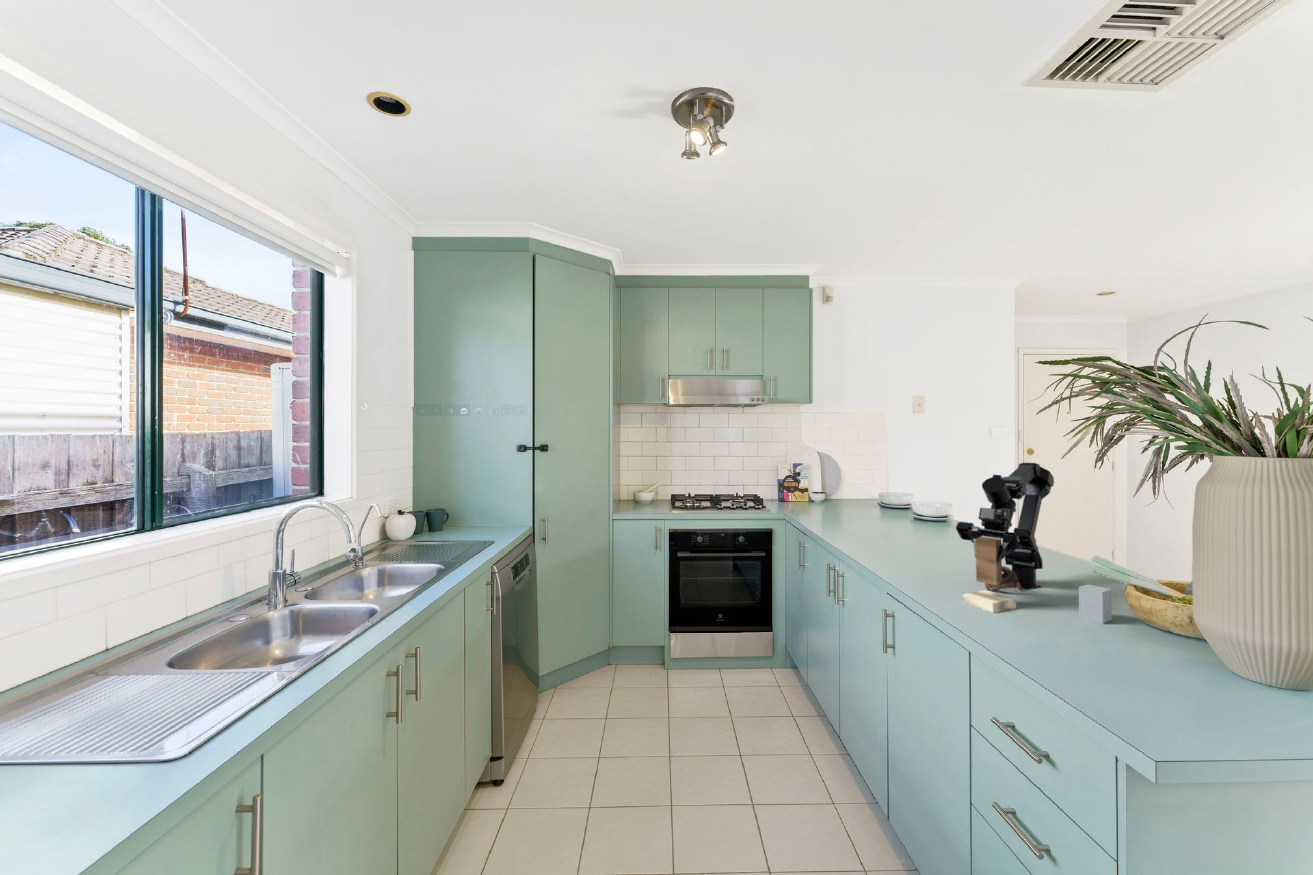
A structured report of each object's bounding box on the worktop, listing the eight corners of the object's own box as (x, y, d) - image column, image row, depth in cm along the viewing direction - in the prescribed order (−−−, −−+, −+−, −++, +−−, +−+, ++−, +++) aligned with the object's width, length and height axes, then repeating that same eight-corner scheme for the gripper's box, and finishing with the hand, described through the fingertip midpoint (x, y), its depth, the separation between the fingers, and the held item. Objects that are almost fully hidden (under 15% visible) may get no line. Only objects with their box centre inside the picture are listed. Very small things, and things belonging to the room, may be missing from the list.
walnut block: (982, 578, 151) (981, 536, 151) (1002, 582, 147) (1001, 539, 147) (976, 581, 149) (975, 538, 148) (996, 585, 145) (995, 541, 145)
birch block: (985, 600, 154) (985, 589, 154) (1016, 609, 146) (1015, 598, 145) (962, 604, 151) (962, 593, 151) (992, 614, 142) (992, 603, 142)
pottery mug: (1031, 595, 157) (1022, 573, 156) (1000, 608, 159) (991, 587, 157) (1006, 574, 169) (997, 554, 167) (977, 587, 170) (969, 567, 168)
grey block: (1088, 614, 139) (1087, 584, 139) (1111, 620, 135) (1111, 588, 135) (1079, 618, 137) (1078, 587, 137) (1102, 624, 133) (1102, 592, 133)
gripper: (957, 494, 157) (942, 536, 151) (1031, 499, 143) (1018, 547, 136) (969, 517, 162) (954, 559, 156) (1041, 524, 148) (1029, 571, 141)
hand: (986, 559), depth 147 cm, fingers closed on walnut block, 5 cm apart
